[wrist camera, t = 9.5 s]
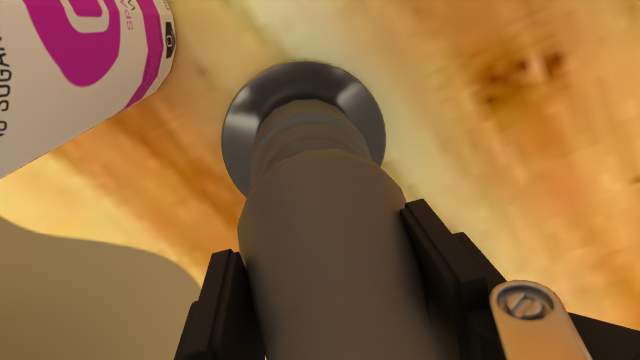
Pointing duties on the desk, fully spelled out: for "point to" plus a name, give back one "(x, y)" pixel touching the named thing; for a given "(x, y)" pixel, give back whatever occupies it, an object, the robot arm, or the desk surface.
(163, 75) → the supplement can
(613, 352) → the robot arm
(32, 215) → the desk surface
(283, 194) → the candle holder
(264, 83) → the coaster
